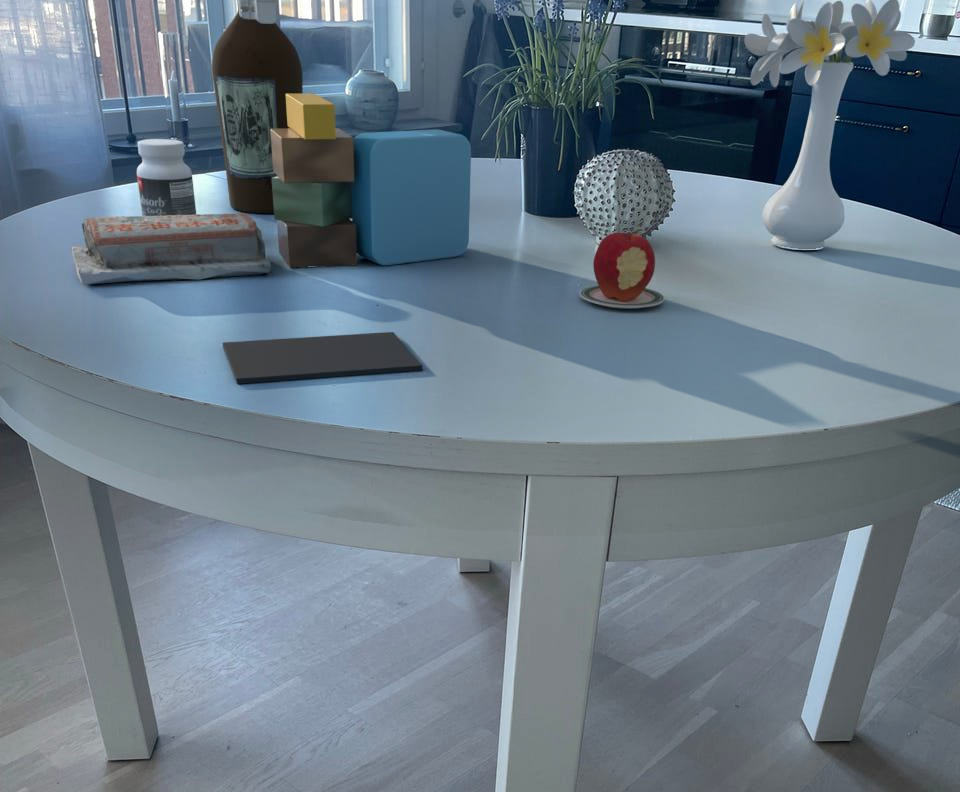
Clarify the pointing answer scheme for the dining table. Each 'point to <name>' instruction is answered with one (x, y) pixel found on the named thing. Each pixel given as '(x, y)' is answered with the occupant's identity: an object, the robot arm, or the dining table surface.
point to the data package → (411, 195)
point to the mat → (318, 357)
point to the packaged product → (169, 248)
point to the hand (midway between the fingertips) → (257, 21)
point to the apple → (623, 273)
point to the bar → (311, 116)
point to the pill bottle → (164, 179)
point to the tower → (314, 199)
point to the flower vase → (821, 105)
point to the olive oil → (253, 105)
